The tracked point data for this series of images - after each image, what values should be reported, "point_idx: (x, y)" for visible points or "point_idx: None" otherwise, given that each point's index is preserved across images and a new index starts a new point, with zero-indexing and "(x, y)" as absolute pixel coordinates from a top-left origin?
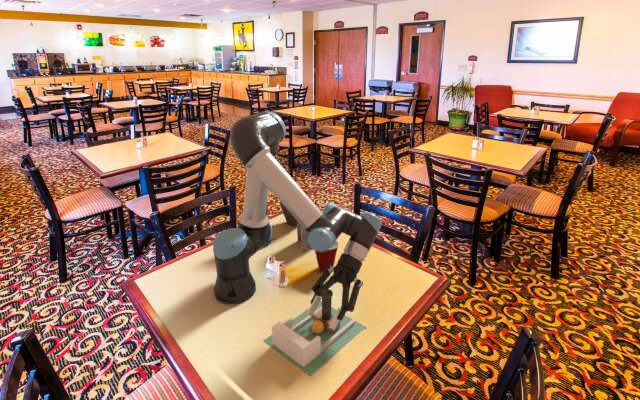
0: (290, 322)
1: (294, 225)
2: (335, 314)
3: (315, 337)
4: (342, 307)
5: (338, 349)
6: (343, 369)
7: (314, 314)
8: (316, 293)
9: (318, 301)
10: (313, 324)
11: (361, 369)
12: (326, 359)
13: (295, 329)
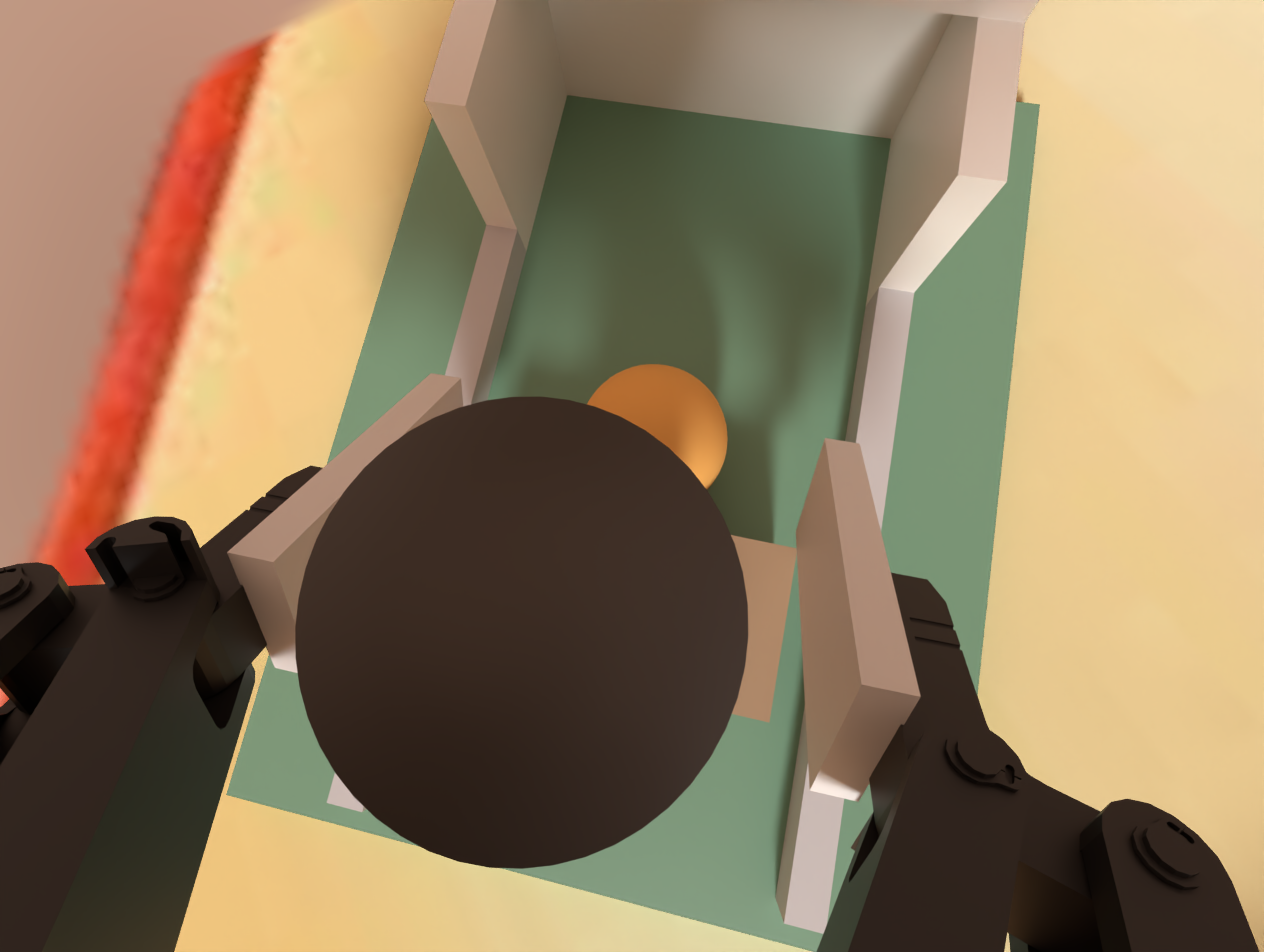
0: (934, 196)
1: None
2: (353, 475)
3: (474, 66)
4: (129, 537)
5: (372, 361)
6: (278, 235)
7: (785, 560)
8: (947, 741)
9: (819, 681)
10: (685, 380)
11: (151, 304)
12: (420, 216)
13: (865, 340)
